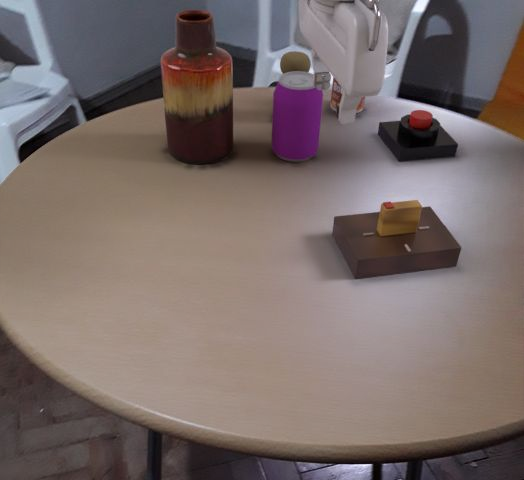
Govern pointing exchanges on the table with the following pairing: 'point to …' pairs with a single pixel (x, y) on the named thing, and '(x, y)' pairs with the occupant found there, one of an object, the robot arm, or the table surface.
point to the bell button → (420, 119)
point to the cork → (295, 62)
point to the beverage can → (296, 117)
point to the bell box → (416, 140)
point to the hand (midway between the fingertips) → (332, 103)
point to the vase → (197, 92)
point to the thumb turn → (399, 217)
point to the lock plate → (394, 245)
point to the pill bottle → (337, 97)
